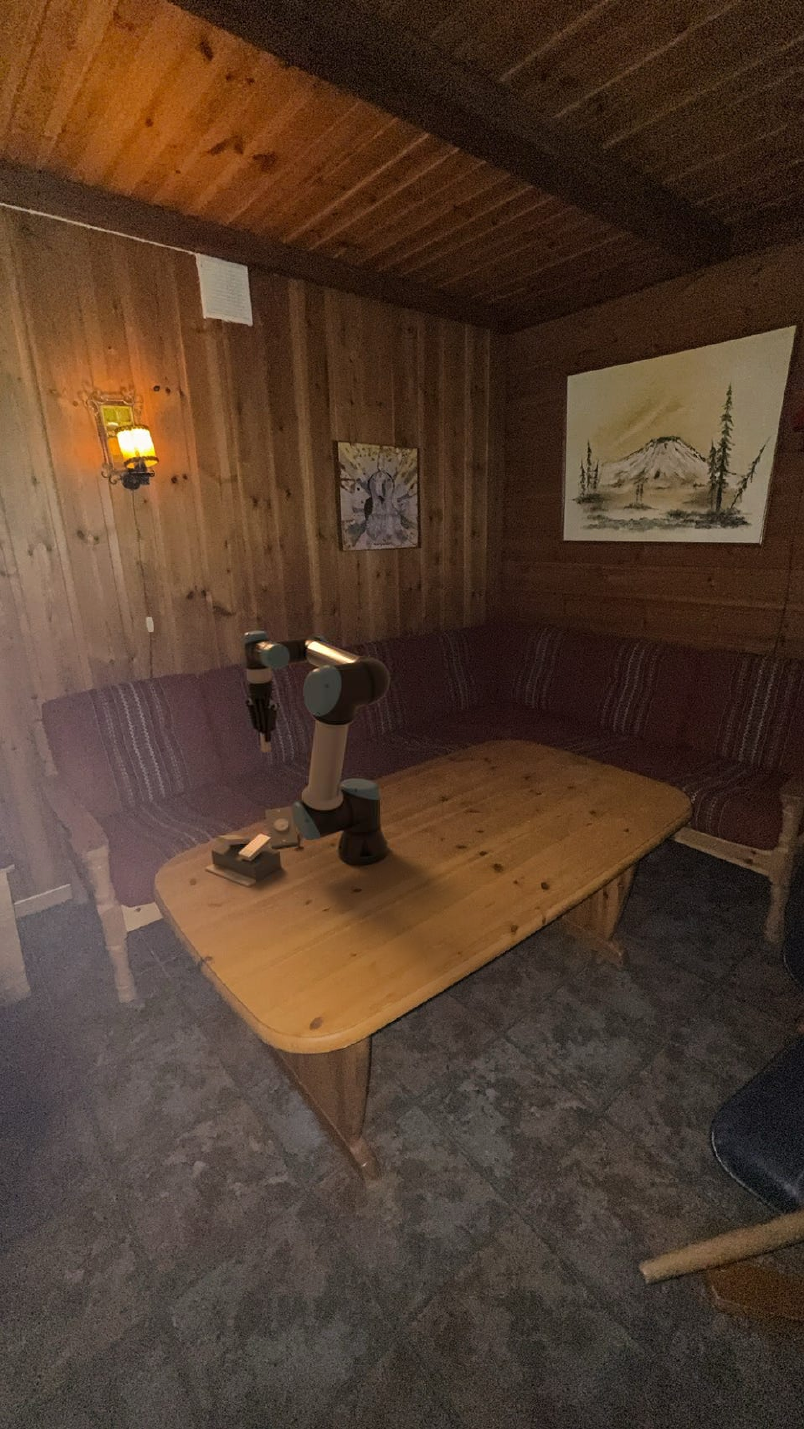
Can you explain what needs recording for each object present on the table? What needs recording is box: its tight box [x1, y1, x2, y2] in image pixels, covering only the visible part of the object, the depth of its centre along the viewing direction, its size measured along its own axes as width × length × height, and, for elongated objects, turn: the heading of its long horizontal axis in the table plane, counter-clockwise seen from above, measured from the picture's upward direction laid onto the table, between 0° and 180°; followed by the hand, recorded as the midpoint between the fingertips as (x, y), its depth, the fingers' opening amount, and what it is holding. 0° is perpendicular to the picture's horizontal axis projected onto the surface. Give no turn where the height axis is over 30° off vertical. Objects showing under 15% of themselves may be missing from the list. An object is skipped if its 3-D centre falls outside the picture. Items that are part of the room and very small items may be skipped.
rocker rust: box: [216, 834, 251, 845], centre depth 185 cm, size 4×9×2 cm, turn 147°
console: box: [204, 840, 282, 888], centre depth 183 cm, size 18×13×6 cm
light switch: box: [264, 806, 299, 849], centre depth 201 cm, size 8×6×14 cm
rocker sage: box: [239, 833, 272, 861], centre depth 180 cm, size 4×9×2 cm, turn 147°
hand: (266, 750), depth 203 cm, fingers closed
